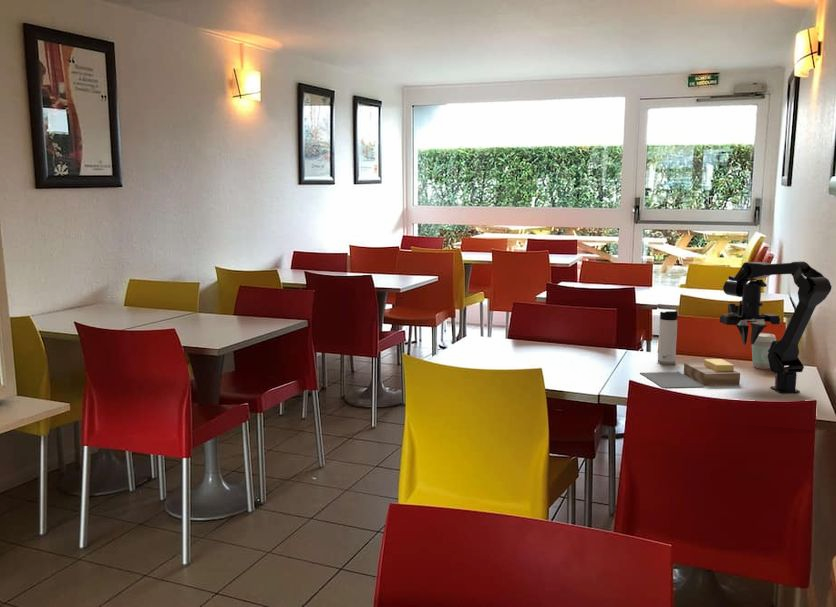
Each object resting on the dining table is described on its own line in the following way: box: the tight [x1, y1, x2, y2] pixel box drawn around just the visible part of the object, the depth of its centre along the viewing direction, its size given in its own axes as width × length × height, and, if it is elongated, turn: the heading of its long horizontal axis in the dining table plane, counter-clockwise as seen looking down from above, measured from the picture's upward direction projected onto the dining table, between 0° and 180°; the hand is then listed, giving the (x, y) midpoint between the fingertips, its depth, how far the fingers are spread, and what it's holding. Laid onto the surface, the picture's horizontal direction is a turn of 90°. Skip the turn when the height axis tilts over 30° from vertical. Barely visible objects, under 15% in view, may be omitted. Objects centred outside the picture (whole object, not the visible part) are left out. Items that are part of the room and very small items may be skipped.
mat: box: [639, 371, 705, 389], centre depth 253 cm, size 20×14×1 cm
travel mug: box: [657, 310, 679, 366], centre depth 277 cm, size 6×7×20 cm
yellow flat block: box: [703, 358, 735, 371], centre depth 253 cm, size 9×6×2 cm, turn 5°
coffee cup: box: [751, 332, 777, 370], centre depth 271 cm, size 8×8×12 cm
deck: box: [683, 362, 741, 387], centre depth 254 cm, size 16×12×4 cm
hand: (748, 344), depth 253 cm, fingers open, 2 cm apart
